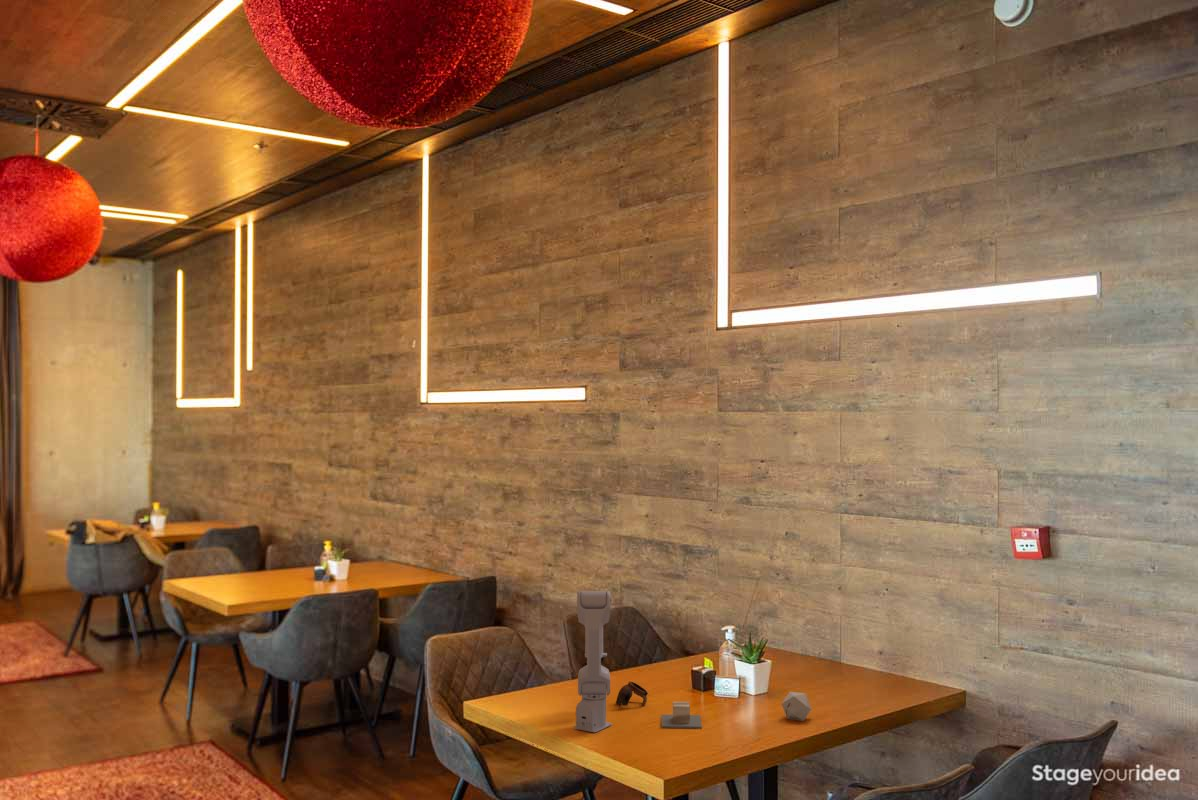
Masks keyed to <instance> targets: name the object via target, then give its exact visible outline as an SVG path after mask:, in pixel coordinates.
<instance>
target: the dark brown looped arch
mask: <svg viewBox="0 0 1198 800" xmlns="http://www.w3.org/2000/svg"><path fill="white" fill-rule="evenodd" d="M633 694H634V695H637V696H639V697H641V698H642V700H643V701H642V704H641V705H642V707H644V706H646V704H647V700H648V698H647V696H648V695H649V692H648V691H647V689H645V688H643V687H642V686H641V685H639V684H638V683H636V682H633V681H628V683H627V684H625V685H623V686H622V687H621V688H620V689H619V691H618V694H617V696H616V701H615V704H616V706H618V707H621V705H622V706H623V707H624V706H628V705H629V702H630V700H631V698H632V696H633Z"/></svg>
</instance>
